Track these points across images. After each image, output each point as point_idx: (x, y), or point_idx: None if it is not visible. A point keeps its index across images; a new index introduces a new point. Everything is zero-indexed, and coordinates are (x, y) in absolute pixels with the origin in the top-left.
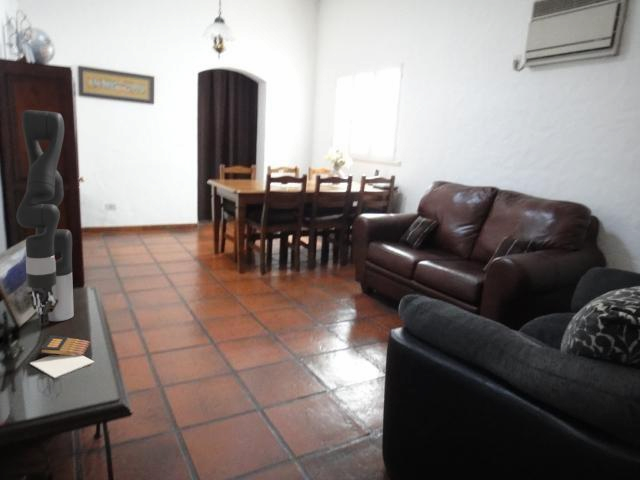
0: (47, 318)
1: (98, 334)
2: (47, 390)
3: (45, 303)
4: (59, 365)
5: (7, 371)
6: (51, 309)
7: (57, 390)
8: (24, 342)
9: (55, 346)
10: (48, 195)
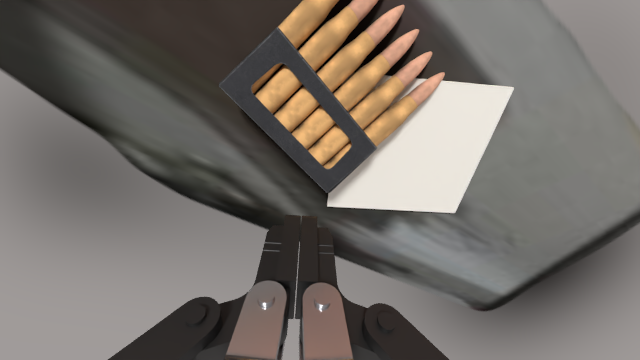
0: (333, 260)
1: None
2: (474, 242)
3: None
4: (417, 172)
5: None
6: (407, 349)
7: (496, 233)
8: (153, 134)
9: (339, 141)
10: None
